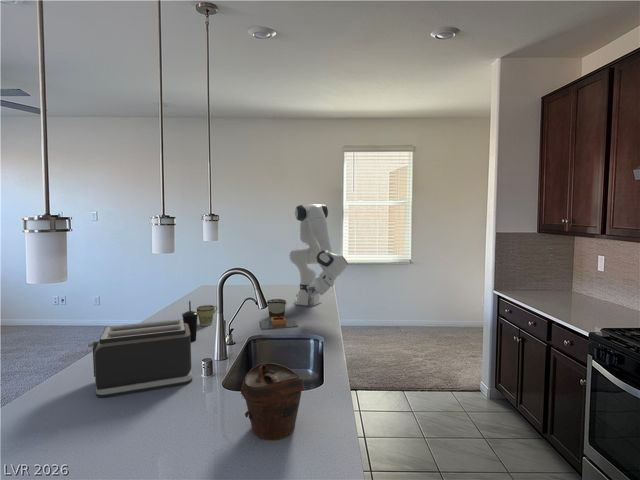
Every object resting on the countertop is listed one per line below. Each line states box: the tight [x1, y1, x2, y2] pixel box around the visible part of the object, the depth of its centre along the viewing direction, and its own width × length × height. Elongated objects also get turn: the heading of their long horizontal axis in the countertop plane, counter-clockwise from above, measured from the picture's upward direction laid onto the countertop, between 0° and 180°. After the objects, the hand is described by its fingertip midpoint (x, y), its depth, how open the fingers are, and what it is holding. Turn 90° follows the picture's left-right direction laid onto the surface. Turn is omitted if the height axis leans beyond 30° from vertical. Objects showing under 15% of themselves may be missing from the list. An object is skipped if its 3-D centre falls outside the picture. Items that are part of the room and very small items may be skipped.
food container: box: [266, 298, 288, 318], centre depth 238 cm, size 12×6×10 cm, turn 84°
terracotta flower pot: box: [240, 362, 306, 441], centre depth 114 cm, size 18×20×18 cm
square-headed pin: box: [307, 285, 315, 307], centre depth 223 cm, size 4×4×11 cm
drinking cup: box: [181, 300, 199, 343], centre depth 192 cm, size 8×8×20 cm
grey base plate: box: [259, 316, 299, 330], centre depth 220 cm, size 14×20×4 cm
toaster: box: [87, 318, 193, 399], centre depth 145 cm, size 19×35×20 cm, turn 112°
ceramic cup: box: [196, 304, 218, 327], centre depth 222 cm, size 13×10×10 cm
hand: (309, 296), depth 223 cm, fingers closed on square-headed pin, 4 cm apart
